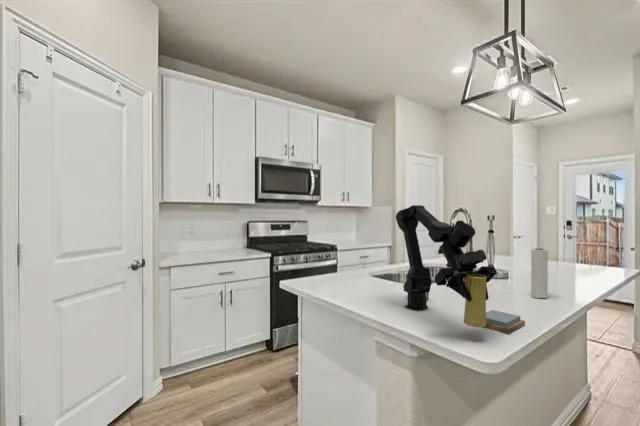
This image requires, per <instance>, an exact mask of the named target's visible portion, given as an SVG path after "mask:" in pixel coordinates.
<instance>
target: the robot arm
mask: <svg viewBox="0 0 640 426" xmlns="http://www.w3.org/2000/svg"><path fill="white" fill-rule="evenodd" d="M395 220H396V222H397V225H398V226H397V227H398V228H399V229H400V230H401V232H403V237H404V242H405V243H404V244H405V248H406V254H407V259H408V263H409V264H408V265H409V269H408V271H407V274H406V276H407V279H406V280H405V282H404V284H403V291H404V292H405V293H407V304H406V305H404V307H405V308H408V309H410V310H411V309H412V310H415V311H422V310H423V311H424V310H425V309H428V308H429V306H428V305H427V302H428V300H427V297H426V292H429V293H430V291H431V286H432V277H431V272H430V269H429V267H428V268H427V267H425V266H424V264H423V260H422V259H423V257H422V255H421V250H420V244H419V239H418V234H417V228H418V225H419V223H421V225H422V226H423V227H424V228H425V229H427V231H428V237H429V238H430V239H431V240H432V242H434V243H442V244H441V245H439V248H438V250H437V254H439V255H443V256H444V257H445V259H446V261H447V263H446V267H440V269H439V270H438V271H437V273H436V274H435V276H434V282H435V284H436V286H445V285H446V288H450V289H451V290H452V291H455V293H457V294H458V295H460V296H462V298H464V299H465V301H466V300H468V301H471V300H472V299H471V296H470V294H469V292H468V290H467V288H466V286H465V284H464V279H466V276H467V274H479V275H484V276H486V301H488V300H489V293H488V286H487V283H489V282H490V281H491V280H492V279H493V278H494V277H495V276H496V275H497V274H498V271H497V270H496V268H495V266H492V265H485V266H484V265H483V266H480V267H479V268H480V269H479V270H478V271H474V270H473V269H475V268H478V264H480V263H481V264H483V263H484V261H486V260H487V255H486V252H485V251H484V250H483V249H477V250H475V251H473V250H472V251H466V252H464V250H463V249H462V248H465V247H466V246H467V245H468V244H469V243H470V241H471V240H472V239H473V237H474V236H475V235H476V230H475V227H474V226H473V227H472V226H471V225H470V224H469V223H466V222H465V221H464V220H457V221H456V222H455V225H454V226H452V225H451V224H450V223H447V222H443V221H440V220H438V219H437V218H436V217H435V216H434V215H433V214H432V213H431V212H430V211H428V209H426V208H425V206H424V205H421V204H419V205H416V204H413V205H411V206H409V207H407V208H404V209H400V210H398V212H397V213H395Z"/></svg>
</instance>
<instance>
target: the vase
mask: <svg viewBox="0 0 640 426" xmlns="http://www.w3.org/2000/svg"><path fill="white" fill-rule="evenodd" d="M466 288H467V290H468V292H469V294H470V296H471V299H472V300H471V301H468V300H466V299H465V301H464V302H465V304H464V312H463V313H464V315H463V323H464V324H465V325H467V326H470V327H473V328H483V327H485V326H486V312H487V303H486V302H487V300H486V276H484V275H479V274H467V276H466Z"/></svg>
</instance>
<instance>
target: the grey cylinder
mask: <svg viewBox="0 0 640 426" xmlns="http://www.w3.org/2000/svg"><path fill="white" fill-rule="evenodd" d="M530 252H531V253H530V254H531V256H530V257H531V258H530V260H531V261H530V262H531V264H530V265H531V269H530V274H531V275H530V278H531V279H530V280H531V281H530V295H531V296H530V297H532V298H534V299H540V298H546V299H548V297H549V296H548V290H549V289H548V287H549V286H548V285H549V284H548V280H549V278H548V275H549V274H548V271H549V269H548V268H549V267H548V265H549V264H548V263H549V262H548V261H549V260H548V259H549V258H548V257H549V255H548V254H549V253H548V252H549V250H548V249H546V248H537V247H535V248H531V251H530Z"/></svg>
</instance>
